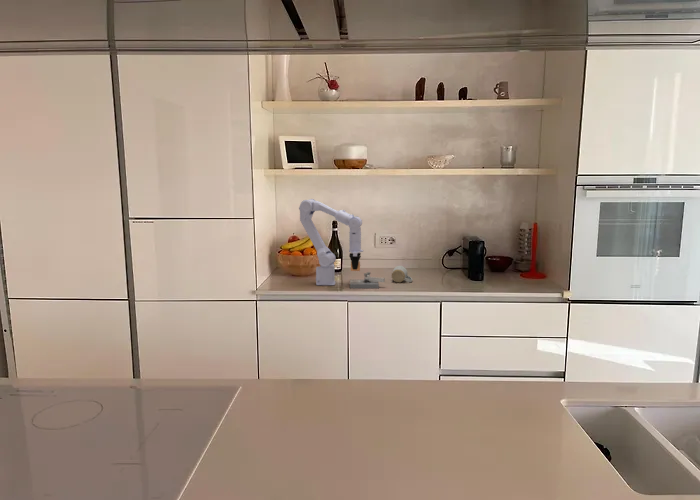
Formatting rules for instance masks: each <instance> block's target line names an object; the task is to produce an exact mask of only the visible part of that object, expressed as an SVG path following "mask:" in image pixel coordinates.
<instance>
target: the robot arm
mask: <svg viewBox="0 0 700 500" xmlns="http://www.w3.org/2000/svg"><path fill="white" fill-rule="evenodd" d="M298 210H299V222H300V223H301V225H302V227H303V228H304V230H305V232H306V234H307V236H308V238H309V239H310V241H311V243H312V245H313V246H314V248H315V250H316V256H317V259H318V264H319V265H320V266H316V267H315V282H316V284H315V285H316V286H335V285H336V283H337V282H336V280H335V279H336V277H335V267H336V266H335V262H336V259H337V258H336V257H337V256H336V255H335V253H333V252H332V251H331V249H330V248H329V247H328V246H327V245H326V243H325V241H324V240H323V238H322V237H321V234H320V232H319V231H318V229H317V227H316V226H315V224H314V222H313V220H312V217H313V215H314V213H315V212H317V211H318V212H319V211H320V212H322V213H325V214H327V215H330V216H332V217H334V218H335V220H336V221H337V222H339V223H341V224H343V225H345V226H348V227H349V232H348V233H349V239H348V241H349V243H348V244H349V249H348V252H349V255H348V256H349V259H350V263H351V262H352V268H353V269H357V268H358V262H359V261H360V259H361V253H362V252H364V250H363V249H362V229H361V228H362V225H363V219H362V218H361V217H359V216H357V215H356V216H355V214H353V213H352V214H351V213H349V212H346V211H347V210H345V209H340V210H339V209H338V210H337V209H334V207H333V208H332V207H331V206H329V205H327V204H325V203H324V202H321V201H320V200H315V198H310V199H304V200H301V202H300V205H299V207H298Z"/></svg>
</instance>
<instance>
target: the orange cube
mask: <svg viewBox="0 0 700 500" xmlns="http://www.w3.org/2000/svg"><path fill="white" fill-rule="evenodd" d="M360 271H361V261H360V260H359V262H358V268H357V269H353V268H352V262H351V261H350V272H360Z"/></svg>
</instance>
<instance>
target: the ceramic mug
mask: <svg viewBox="0 0 700 500" xmlns="http://www.w3.org/2000/svg"><path fill="white" fill-rule="evenodd" d="M408 274H409V273H408V270H407V268H406V267H404V266H403V265H397V266H395V267H394V268H393V270H392V273H391V279H392V280H393V281H394V282H395V283H402V282H404V281H405V282H407V283H412V281H413V278H412V277H411V276H410V275H408Z"/></svg>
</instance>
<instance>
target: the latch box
mask: <svg viewBox="0 0 700 500" xmlns="http://www.w3.org/2000/svg"><path fill="white" fill-rule="evenodd" d="M379 283H380V282H375V281H369V282H365V281H364V279H350V280H349V289H379V288H380V285H379Z"/></svg>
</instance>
